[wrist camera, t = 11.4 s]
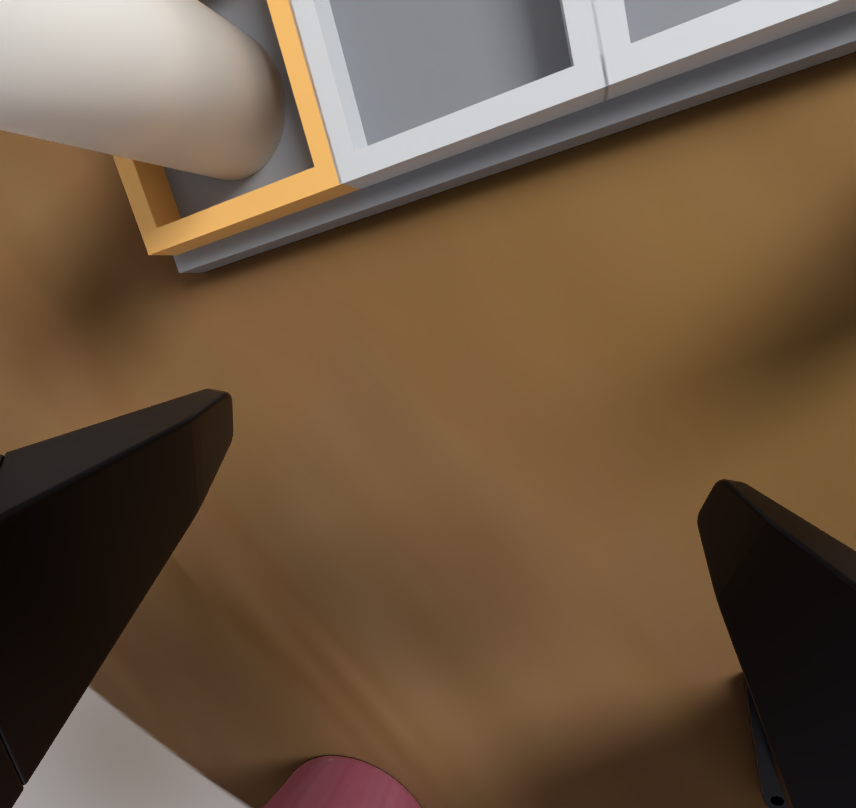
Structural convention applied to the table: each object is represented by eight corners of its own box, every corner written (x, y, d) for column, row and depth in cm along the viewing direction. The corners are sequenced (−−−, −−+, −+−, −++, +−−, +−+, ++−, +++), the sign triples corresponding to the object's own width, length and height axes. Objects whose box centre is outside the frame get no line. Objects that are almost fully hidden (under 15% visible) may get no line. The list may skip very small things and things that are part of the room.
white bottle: (285, 187, 19) (-211, 63, 7) (170, 176, 20) (-428, 55, 8) (288, 27, 17) (-339, -485, 5) (163, 25, 19) (-587, -401, 7)
